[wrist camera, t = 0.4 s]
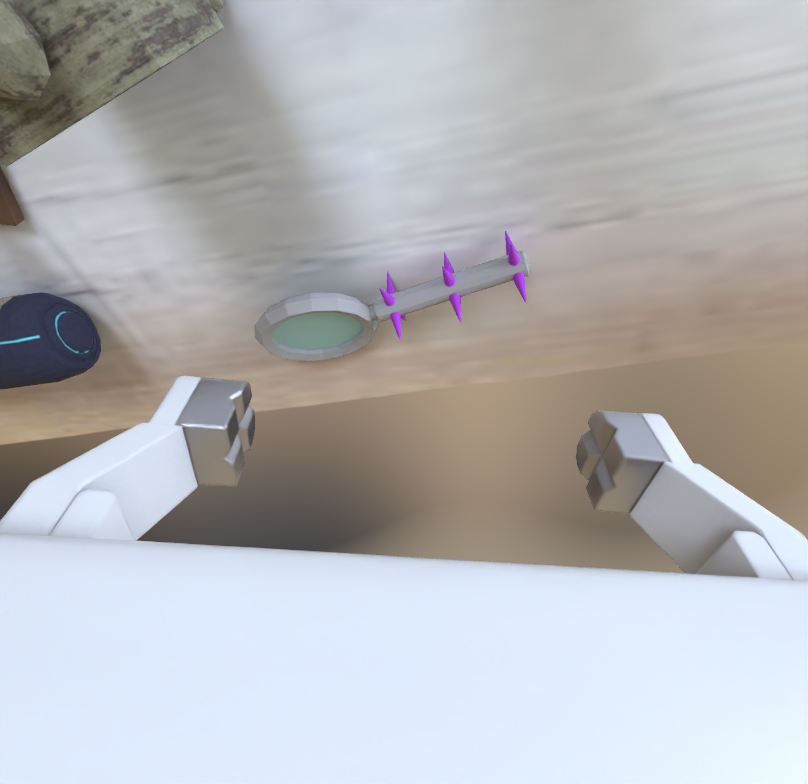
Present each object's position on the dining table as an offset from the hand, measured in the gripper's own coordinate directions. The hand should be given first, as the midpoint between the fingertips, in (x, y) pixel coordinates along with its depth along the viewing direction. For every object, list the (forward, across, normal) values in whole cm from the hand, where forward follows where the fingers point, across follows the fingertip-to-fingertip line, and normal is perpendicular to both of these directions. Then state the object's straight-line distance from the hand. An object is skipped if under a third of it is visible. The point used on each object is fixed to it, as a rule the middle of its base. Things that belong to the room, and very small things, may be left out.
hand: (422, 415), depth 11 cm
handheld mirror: (+41, 0, +18) cm, 45 cm away
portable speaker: (+41, +46, +27) cm, 68 cm away
